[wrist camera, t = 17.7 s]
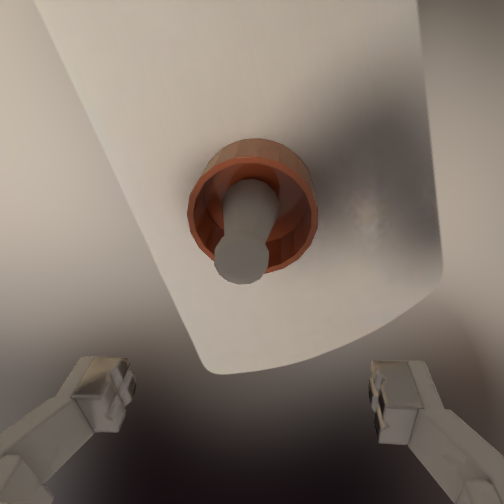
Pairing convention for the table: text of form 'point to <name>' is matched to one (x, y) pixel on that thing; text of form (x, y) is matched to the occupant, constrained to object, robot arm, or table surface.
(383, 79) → the table surface
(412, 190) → the table surface
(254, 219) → the grey rounded piece
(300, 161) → the pot
